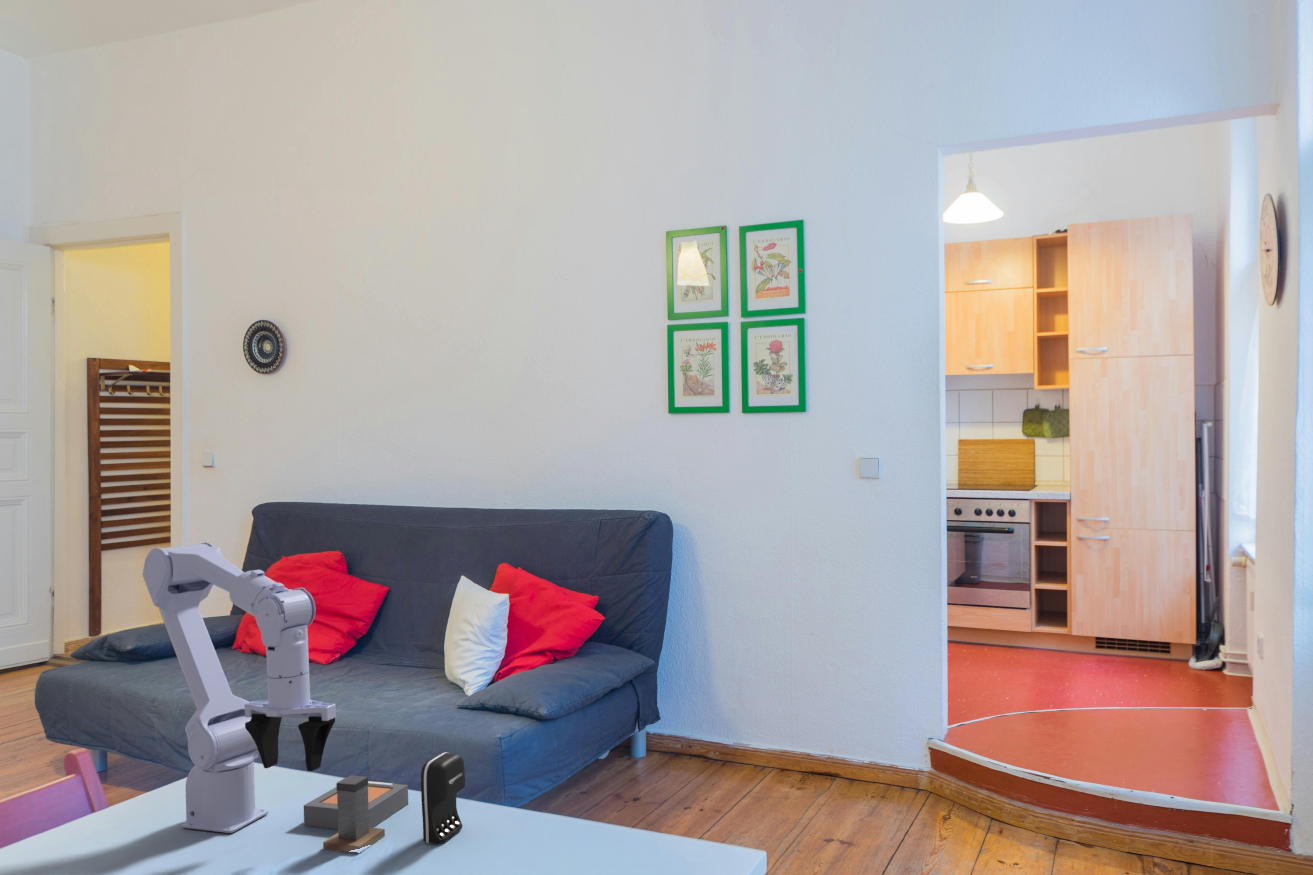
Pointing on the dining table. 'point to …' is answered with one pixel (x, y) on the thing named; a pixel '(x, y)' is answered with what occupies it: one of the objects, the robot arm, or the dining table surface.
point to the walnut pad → (349, 845)
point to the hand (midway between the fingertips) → (292, 767)
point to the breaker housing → (378, 808)
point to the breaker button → (372, 795)
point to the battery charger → (441, 796)
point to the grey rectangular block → (352, 808)
